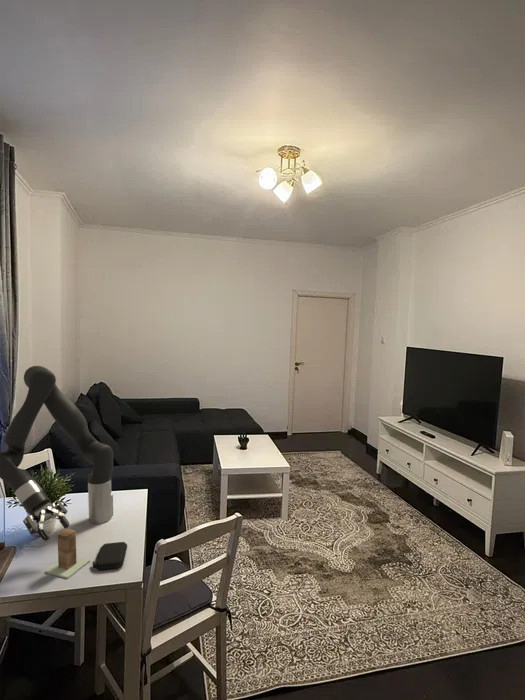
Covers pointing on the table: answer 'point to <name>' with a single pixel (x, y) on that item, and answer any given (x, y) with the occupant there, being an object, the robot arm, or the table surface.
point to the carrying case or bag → (110, 556)
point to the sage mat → (68, 573)
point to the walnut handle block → (67, 549)
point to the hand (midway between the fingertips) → (58, 533)
